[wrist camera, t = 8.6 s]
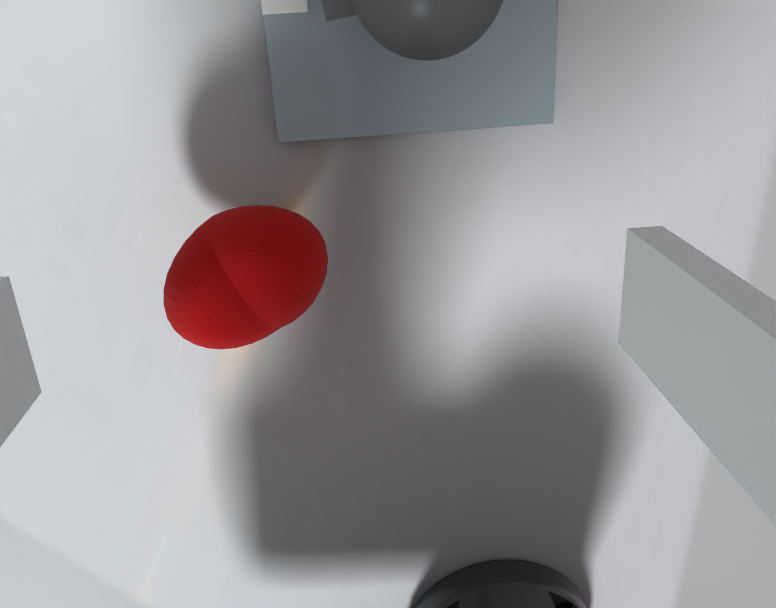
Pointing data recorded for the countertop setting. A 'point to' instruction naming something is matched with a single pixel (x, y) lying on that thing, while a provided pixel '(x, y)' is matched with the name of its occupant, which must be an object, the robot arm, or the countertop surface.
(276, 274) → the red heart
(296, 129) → the lock base
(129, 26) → the countertop surface
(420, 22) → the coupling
